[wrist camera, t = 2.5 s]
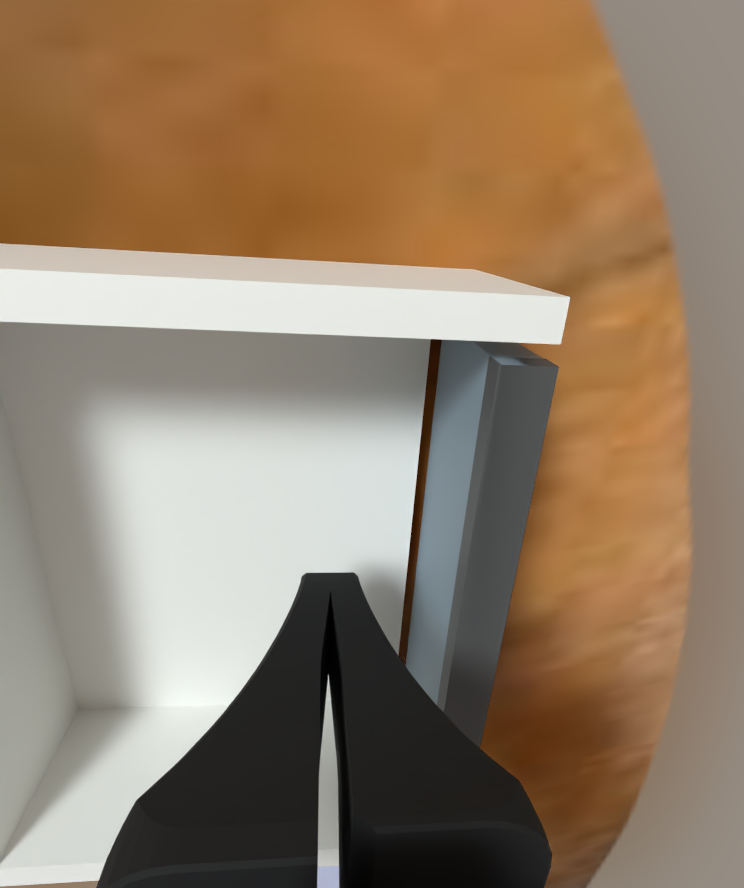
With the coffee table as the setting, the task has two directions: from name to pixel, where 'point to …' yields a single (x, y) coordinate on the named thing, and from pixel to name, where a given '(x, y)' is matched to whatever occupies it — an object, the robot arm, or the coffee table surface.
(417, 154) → the coffee table surface
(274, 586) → the white cubby shelf
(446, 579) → the door panel
